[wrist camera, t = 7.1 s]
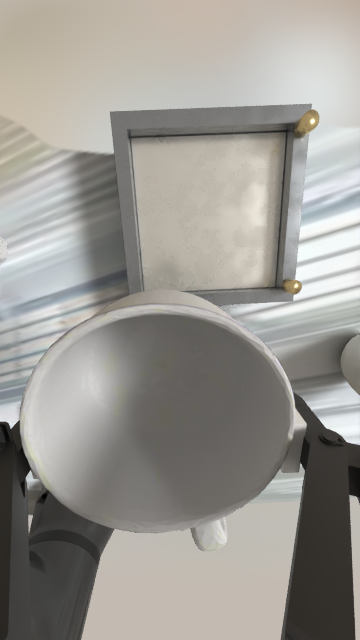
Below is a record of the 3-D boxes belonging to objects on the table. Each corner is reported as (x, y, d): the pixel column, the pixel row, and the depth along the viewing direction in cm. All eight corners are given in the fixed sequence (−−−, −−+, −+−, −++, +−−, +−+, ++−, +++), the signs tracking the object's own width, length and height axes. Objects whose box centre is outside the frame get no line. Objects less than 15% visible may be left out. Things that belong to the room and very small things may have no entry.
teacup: (73, 288, 15) (-32, 331, 8) (241, 264, 15) (307, 285, 7) (119, 455, 19) (81, 590, 12) (251, 440, 19) (300, 571, 11)
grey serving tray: (137, 299, 34) (128, 312, 27) (121, 137, 29) (105, 101, 22) (275, 293, 34) (299, 304, 28) (286, 130, 29) (321, 93, 22)
